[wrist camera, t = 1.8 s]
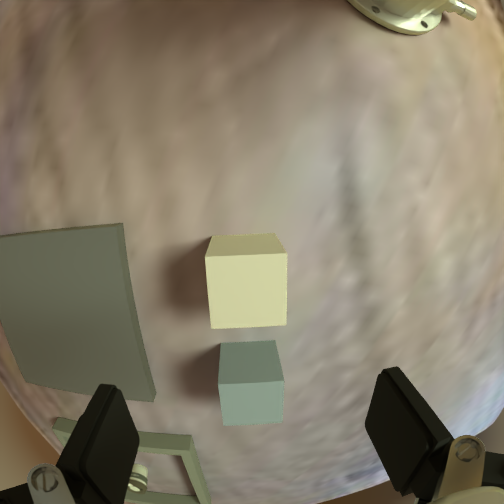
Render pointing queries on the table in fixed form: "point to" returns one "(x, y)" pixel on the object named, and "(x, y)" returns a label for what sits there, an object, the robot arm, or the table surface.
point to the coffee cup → (138, 479)
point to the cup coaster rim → (160, 445)
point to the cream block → (246, 281)
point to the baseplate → (73, 310)
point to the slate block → (250, 383)
